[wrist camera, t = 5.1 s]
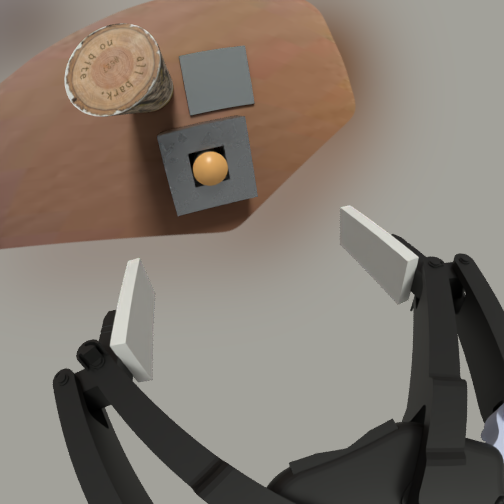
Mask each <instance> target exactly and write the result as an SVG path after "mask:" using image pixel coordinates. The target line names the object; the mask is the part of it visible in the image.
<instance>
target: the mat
mask: <svg viewBox="0 0 504 504" xmlns="http://www.w3.org/2000/svg"><path fill="white" fill-rule="evenodd" d="M179 59H180V64H181V70H182V75H183V80H184V86H185V91H186V96H187V101H188V106H189V111H190V115H195V114H199V113H204V112H208V111H213V110H218V109H224V108H229V107H235V106H241V105H247V104H254V97H253V91H252V85H251V79H250V73H249V67H248V61H247V56H246V50H245V46H237V47H229V48H222V49H215V50H209V51H203V52H197V53H192V54H187V55H182V56H179Z"/></svg>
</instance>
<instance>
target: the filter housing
mask: <svg viewBox="0 0 504 504" xmlns="http://www.w3.org/2000/svg"><path fill="white" fill-rule="evenodd" d="M157 139H158V143H159V147H160V151H161V155H162V159H163V163H164V167H165V171H166V175H167V179H168V183H169V186H170V190H171V194H172V197H173V201H174V204H175V208H176V211H177V215H178V216H181V215H184V214H188V213H192V212H196V211H200V210H204V209H207V208H211V207H215V206H219V205H224V204H228V203H232V202H236V201H240V200H245V199H249V198H253V197H258V195H257V188H256V182H255V176H254V169H253V163H252V157H251V150H250V144H249V138H248V132H247V126H246V120H245V116H238V115H236V116H230V117H225V118H220V119H215V120H210V121H205V122H201V123H196V124H192V125H188V126H184V127H180V128H176V129H172V130H168V131H165V132H161V133H160V134H159V135H158V136H157ZM219 146H220V151H221V155H222V156H223V157H224V159H225V160H226V162H227V165H228V172H227V175H226V177H225V178H224V180H223V181H222V182H220V183H219V184H216V185H213V186H207V185H203V184H201V183H200V182H198V181H197V180H196V178H195V177H194V175H193V171H192V167H191V163H190V158H189V153H193V152H197V151H202V150H206V149H210V148H215V147H219Z"/></svg>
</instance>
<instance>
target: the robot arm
mask: <svg viewBox="0 0 504 504" xmlns="http://www.w3.org/2000/svg"><path fill="white" fill-rule="evenodd" d="M340 245H341V246H342V247H343V248H344V249H345V250H346V251H347V252H348V253H349V254H350V255H351V256H352V257H353V258H354V259H355V260H356V261H357V262H358V263H359V264H360V265H361V266H362V267H363V268H364V269H365V270H366V271H367V272H368V273H369V274H370V275H371V276H372V277H373V278H374V279H375V280H376V282H377V283H378V284H379V285H380V286H381V287H382V288H383V289H384V290H385V291H386V292H387V293H388V294H389V295H390V297H391V298H392V299H393V300H394V301H395V302H396V303H397V304H400V303H403V302H405V301H407V300H408V299H409V295H410V292H412V293H413V294H414V295H415V296H414V300H413V303H412V307H411V310H410V311H412V310H413V308H414V327H413V353H412V367H411V368H412V369H411V379H410V388H409V397H408V404H407V409H406V412H405V415H404V417H403V420H402V422H399V423H395V422H394V420H393V419H391V420H389V421H387V422H385V423H384V424H382V425H380V426H378V427H376V428H374V429H372V430H370V431H369V432H367V433H366V434H365V435H364V436H363V437H361V438H360V439H359V440H357V441H356V442H355V443H354V444H352V445H351V446H350V447H348V448H346V449H341V450H336V451H330V452H323V453H317V454H314V455H311V456H308V457H305V458H302V459H299V460H296V461H293V462H290V463H289V465H290V467H289V468H287V469H285V470H284V471H282V472H281V473H280V474H278V475H277V476H276V477H275V478H274V479H273V480H272V481H271V482H270V483H269V485H268V486H267V487H264V486H262V485H261V484H259V483H257V482H256V481H254V480H252V479H251V478H249V477H247V476H246V475H244V474H243V473H241V472H240V471H238V470H237V469H235V468H234V467H232V466H231V465H229V464H228V463H226V462H225V461H223V460H221V459H220V458H218V457H217V456H216V455H214V454H213V453H212V452H210V451H209V450H208V449H206V448H205V447H204V446H202V445H201V444H200V443H199V442H197V441H196V440H195V439H194V438H193V437H191V436H190V435H189V434H188V433H186V432H185V431H184V430H183V429H182V428H181V427H180V426H178V425H177V424H176V423H175V422H174V421H173V420H172V419H170V418H169V417H168V416H167V415H166V414H165V413H164V412H163V411H162V410H161V409H160V408H159V407H157V406H156V405H155V404H154V403H153V402H152V401H151V400H150V399H149V398H148V397H147V396H146V395H145V394H144V393H143V392H142V391H141V390H140V389H139V388H138V387H137V385H136V384H135V383H134V382H133V377H134V378H135V379H136V380H137V381H138V382H143V381H149V380H152V359H153V354H152V353H153V323H154V305H155V292H154V290H153V287H152V285H151V283H150V281H149V278H148V276H147V274H146V271H145V269H144V267H143V264H142V262H141V260H140V258H137V259H134V260H130V261H128V264H127V268H126V271H125V275H124V279H123V284H122V288H121V292H120V296H119V301H118V305H117V310H113V311H109V312H108V313H107V315H106V316H105V318H104V320H103V325H102V329H101V334H100V339H99V341H97V340H89V341H86V342H85V343H83V344H82V345H81V346H80V347H79V349H78V351H77V355H76V357H77V360H78V361H79V362H80V363H81V365H82V366H83V367H84V368H85V369H84V370H81V371H79V372H77V373H75V374H74V373H73V372H72V371H71V370H70V369H63V370H60V371H59V372H58V373H57V374H56V375H55V377H54V380H53V389H54V394H55V400H56V405H57V410H58V414H59V418H60V422H61V427H62V431H63V434H64V438H65V442H66V445H67V448H68V452H69V455H70V458H71V461H72V464H73V467H74V469H75V472H76V475H77V478H78V480H79V482H80V485H81V488H82V490H83V492H84V495H85V497H86V499H87V501H88V504H153V502H152V500H151V499H150V497H149V496H148V494H147V493H146V491H145V489H144V488H143V486H142V484H141V482H140V481H139V479H138V477H137V476H136V474H135V472H134V470H133V468H132V466H131V464H130V463H129V461H128V459H127V457H126V455H125V453H124V451H123V449H122V447H121V445H120V442H119V440H118V438H117V436H116V434H115V431H114V429H113V427H112V424H111V422H110V419H109V417H108V414H107V412H106V409H105V407H106V406H109V405H112V406H113V407H114V409H115V410H116V411H117V412H118V413H119V415H120V416H121V417H122V418H123V420H124V421H125V422H126V423H127V424H128V425H129V427H130V428H131V429H132V430H133V431H134V432H135V434H136V435H137V436H138V437H139V438H140V439H141V440H142V441H143V442H144V443H145V444H146V445H147V446H148V448H150V450H152V452H153V453H154V454H155V455H157V457H159V459H161V461H163V463H165V464H166V465H167V466H168V467H169V468H170V469H171V470H172V471H173V472H174V473H176V474H177V475H178V476H179V477H180V478H181V479H182V480H183V481H184V482H186V483H187V484H188V485H189V486H190V487H191V488H192V489H193V490H194V492H195V493H196V494H197V495H198V496H199V497H201V498H202V499H203V500H204V501H206V502H207V503H208V504H504V311H503V309H502V307H501V305H500V303H499V302H498V300H497V298H496V296H495V294H494V293H493V291H492V289H491V287H490V286H489V284H488V282H487V281H486V279H485V277H484V276H483V275H482V273H481V271H480V270H479V268H478V267H477V265H476V263H475V262H474V260H473V259H472V258H471V257H469V256H468V255H465V254H456V255H455V257H454V261H453V262H450V263H444V262H443V261H442V260H441V259H439V258H437V257H425V256H424V255H423V254H422V253H420V252H419V251H418V250H417V249H415V248H414V247H413V246H411V245H410V244H409V243H407V242H406V241H405V240H404V239H402V238H401V237H399V236H397V235H394V234H392V235H390V234H389V233H387V232H386V231H385V230H384V229H382V228H381V227H380V226H378V225H377V224H376V223H374V222H373V221H372V220H370V219H369V218H367V217H366V216H365V215H363V214H362V213H360V212H359V211H357V210H356V209H355V208H353V207H352V206H350V205H349V206H344V207H341V208H340ZM464 292H465V293H466V295H465V293H464ZM457 334H458V335H457ZM458 336H459V339H460V342H461V345H462V348H463V351H464V354H465V357H466V360H467V364H468V367H469V370H470V374H471V378H472V381H473V385H474V389H475V393H476V397H477V402H478V406H479V409H480V413H481V416H482V418H483V421H484V423H485V426H484V430H483V431H482V433H481V438H482V440H483V441H486V443H483V442H479V441H475V440H472V439H468V438H465V436H466V422H467V382H466V381H465V380H463V379H461V378H460V361H459V346H458Z"/></svg>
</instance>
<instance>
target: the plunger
mask: <svg viewBox="0 0 504 504" xmlns="http://www.w3.org/2000/svg"><path fill="white" fill-rule="evenodd" d="M227 172H228V165H227V162H226V160H225V159H224V157H223V156H222V155H220V154H219V153H217V152H216V151H215V150H214V149H212V148H210V149H206V150H202V151H197V152H196V154H195V156H194V164H193V173H194V176H195V178H196V180H197V181H198V182H200V183H201V184H203V185H207V186H213V185H216V184H219V183H220V182H222V181H223V180H224V178H225V177H226V175H227Z"/></svg>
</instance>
